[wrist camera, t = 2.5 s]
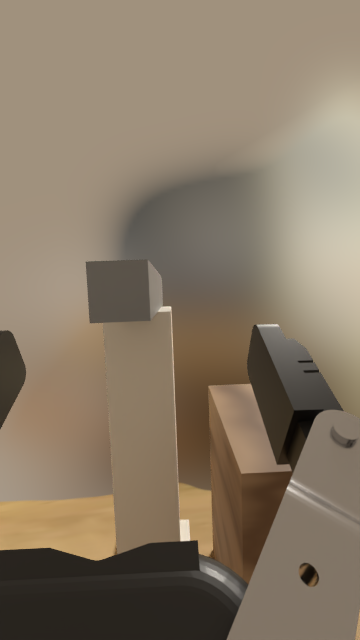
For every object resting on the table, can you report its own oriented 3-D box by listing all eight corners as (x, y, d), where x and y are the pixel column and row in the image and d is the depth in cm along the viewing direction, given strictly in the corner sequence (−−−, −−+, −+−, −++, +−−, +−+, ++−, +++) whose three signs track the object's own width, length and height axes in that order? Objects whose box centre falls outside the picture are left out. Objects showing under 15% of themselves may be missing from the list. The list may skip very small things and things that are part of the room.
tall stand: (189, 529, 44) (180, 305, 41) (195, 629, 31) (184, 311, 28) (125, 532, 43) (112, 308, 40) (105, 634, 31) (84, 315, 28)
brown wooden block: (258, 546, 40) (256, 383, 38) (330, 760, 22) (333, 469, 20) (213, 548, 40) (208, 385, 38) (247, 765, 22) (241, 473, 20)
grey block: (162, 305, 44) (161, 277, 44) (150, 320, 20) (147, 259, 20) (135, 306, 44) (133, 278, 44) (89, 323, 20) (85, 261, 20)
